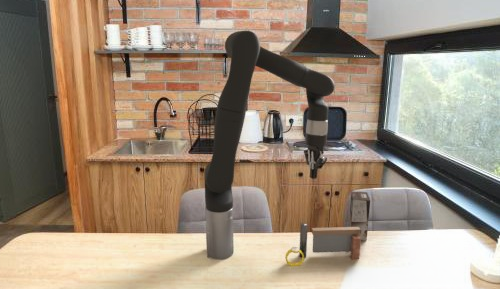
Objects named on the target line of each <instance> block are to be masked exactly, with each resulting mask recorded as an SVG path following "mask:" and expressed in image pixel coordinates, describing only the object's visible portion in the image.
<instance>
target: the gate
mask: <svg viewBox="0 0 500 289" xmlns="http://www.w3.org/2000/svg"><path fill="white" fill-rule="evenodd" d="M360 231H361V229H360V228H359V227H348V226H342V227H341V226H340V227H339V226H338V227H334V226H333V227H311V234H312V253H314V254H316V253H349V252H350V253H351V240H352V236H354V235H359V236H360Z"/></svg>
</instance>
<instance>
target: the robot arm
mask: <svg viewBox="0 0 500 289" xmlns="http://www.w3.org/2000/svg"><path fill="white" fill-rule="evenodd" d="M224 42H225V43H224V49H225V53H226V54H227V56H228V57H229V58H230V59H231V60H230V66H229V74H228V76H227V80H226V82H225V84H224V87H223V88H222V91H221V93H220V96H219V98H218V102H217V107H216V111H215V117H214V126H213V129H214V130H213V151H212V156H211V160H210V162H209V163H207V164H206V166H205V168H204V175H203V176H204V198H205V217H206V218H205V219H206V225H205V226H206V229H205V230H206V231H205V239H206V240H205V241H206V258H211V259H214V260H226V259H229V258H230V257H231V256H233V255H234V249H235V247H234V246H235V244H234V199H233V189H232V188H233V186H232V185H233V184H234V179H235V165H236V156H237V151H238V148H239V143H240V141H241V140H240V139H241V136H242V131H243V128H244V123H245V119H246V118H245V117H246V112H247V106H248V101H249V97H250V96H249V95H250V90H251V84H252V79H253V75H254V71H255V68H256V67H257V68H260V69H262V70H264V71H267V72H268V73H270V74H273V75H274V76H275V77H279V79H281V80H284V81H286V82H288V83H290V84H292V85H294V86H295V87H296V86H297V87H299V88H304V89H305V95H306V100H307V102H306V103H307V106H308V110H307V120H306V125H305V127H306V128H305V145H306V146H307V149H305V150H303V154H304V158H305V162H306V165H307V166H308V167H309V178H310V179H312V180H316V179H317V178H318V171H319V170H320V169H322V168H323V167H324V165H325V164H326V163H327V160H328V159H327V157H325V156H324V152H325V151H324V148H325V147H326V146H327V143H328V142H327V141H328V130H329V124H328V122H329V104H327V103H326V102H325V101H324V97H328V96H331V95H332V94H333V92H334V91H335V89H336V88H335V82H334V79H332V78H331V77H330V76H328V75H327V74H325V73H323V72H322V73H321V72H319V71H316V70H315V69H311V68H309V67H308V66H306V65H304V64H302V63H301V62H298V61H296V60H293V59H291V58H289V57H286V56H284V55H281V54H278V53H276V52H273V51H270V50H268V49H266V48H264V47H263V46H261V43H260V39H259V37H258V35H257V34H256V33H255V32H253V31H251V30H239V31H238V30H237V31H234V32H232V33H231V34H229V35H228V36H227V38H226V40H225V41H224Z"/></svg>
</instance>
